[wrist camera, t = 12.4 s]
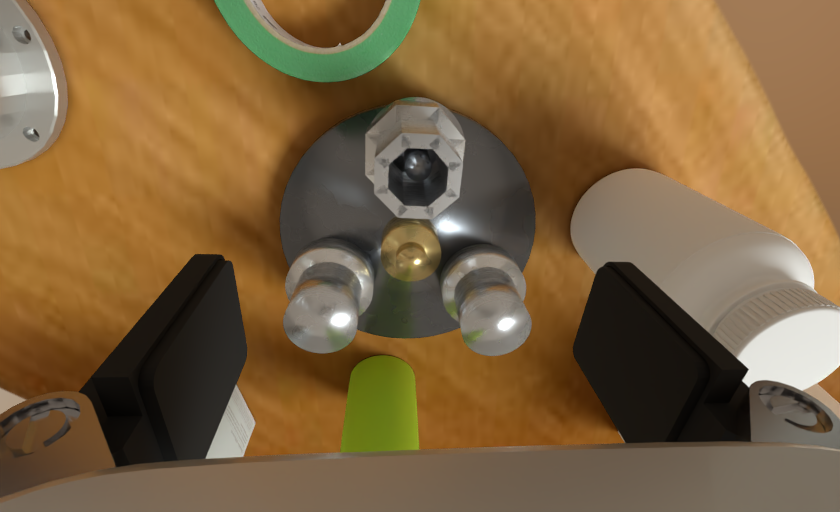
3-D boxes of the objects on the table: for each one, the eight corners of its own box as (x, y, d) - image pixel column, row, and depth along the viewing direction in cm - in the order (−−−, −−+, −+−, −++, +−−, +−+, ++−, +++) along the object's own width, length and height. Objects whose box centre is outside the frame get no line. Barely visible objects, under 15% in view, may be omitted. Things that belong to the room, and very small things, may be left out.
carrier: (230, 225, 29) (184, 278, 23) (421, 36, 24) (430, 35, 18) (401, 363, 36) (402, 433, 30) (576, 239, 31) (623, 290, 25)
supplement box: (229, 364, 35) (152, 516, 24) (257, 422, 39) (202, 578, 27) (145, 377, 35) (30, 533, 24) (181, 433, 39) (96, 593, 28)
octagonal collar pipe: (367, 97, 24) (360, 114, 19) (463, 104, 25) (482, 122, 19) (367, 190, 27) (360, 228, 22) (453, 194, 27) (467, 232, 22)
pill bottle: (622, 279, 33) (773, 440, 20) (545, 236, 31) (658, 386, 18) (697, 198, 30) (935, 325, 17) (617, 144, 28) (820, 241, 15)
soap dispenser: (335, 356, 35) (275, 674, 18) (415, 353, 36) (434, 663, 18) (341, 404, 38) (294, 720, 20) (415, 401, 38) (431, 710, 21)
